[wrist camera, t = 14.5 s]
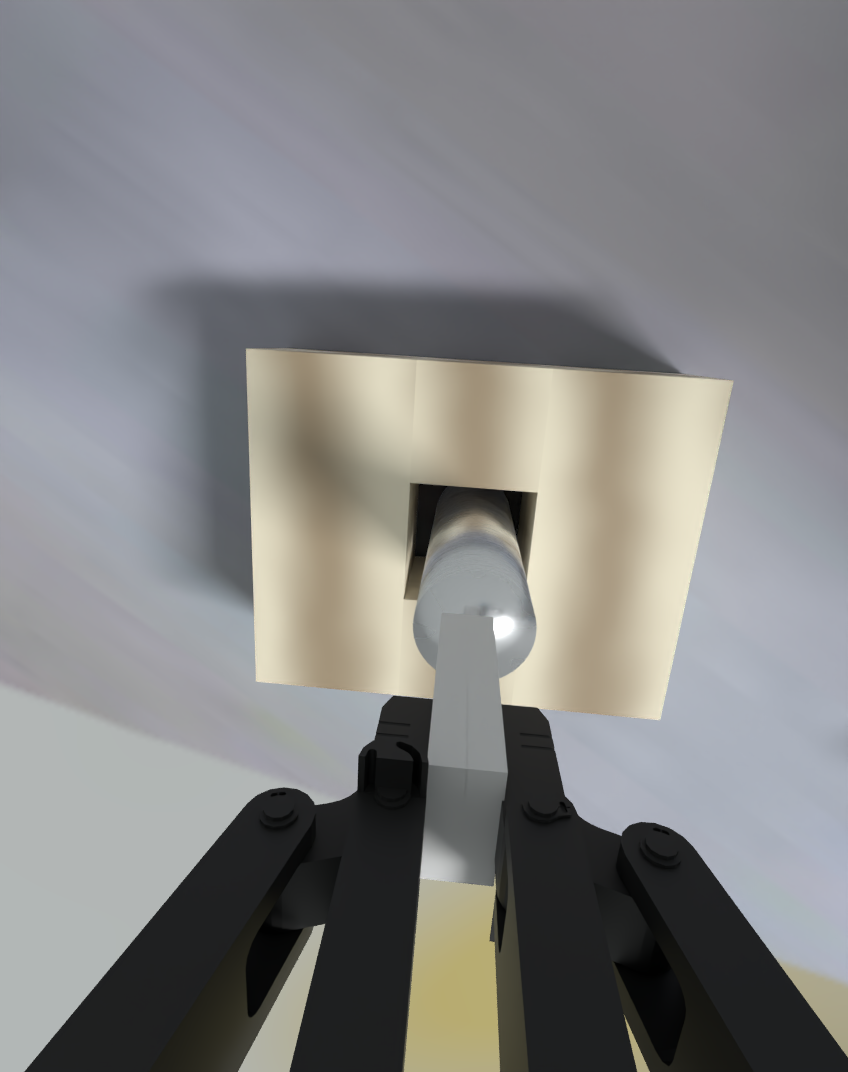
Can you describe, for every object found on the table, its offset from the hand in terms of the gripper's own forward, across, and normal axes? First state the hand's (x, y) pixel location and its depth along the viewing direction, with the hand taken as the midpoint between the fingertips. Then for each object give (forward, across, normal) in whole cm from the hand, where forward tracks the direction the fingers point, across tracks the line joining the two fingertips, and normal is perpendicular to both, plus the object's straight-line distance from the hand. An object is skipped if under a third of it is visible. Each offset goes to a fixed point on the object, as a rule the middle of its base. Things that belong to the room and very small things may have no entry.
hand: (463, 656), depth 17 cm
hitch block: (+16, 0, 0) cm, 16 cm away
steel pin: (+16, 0, 0) cm, 16 cm away
